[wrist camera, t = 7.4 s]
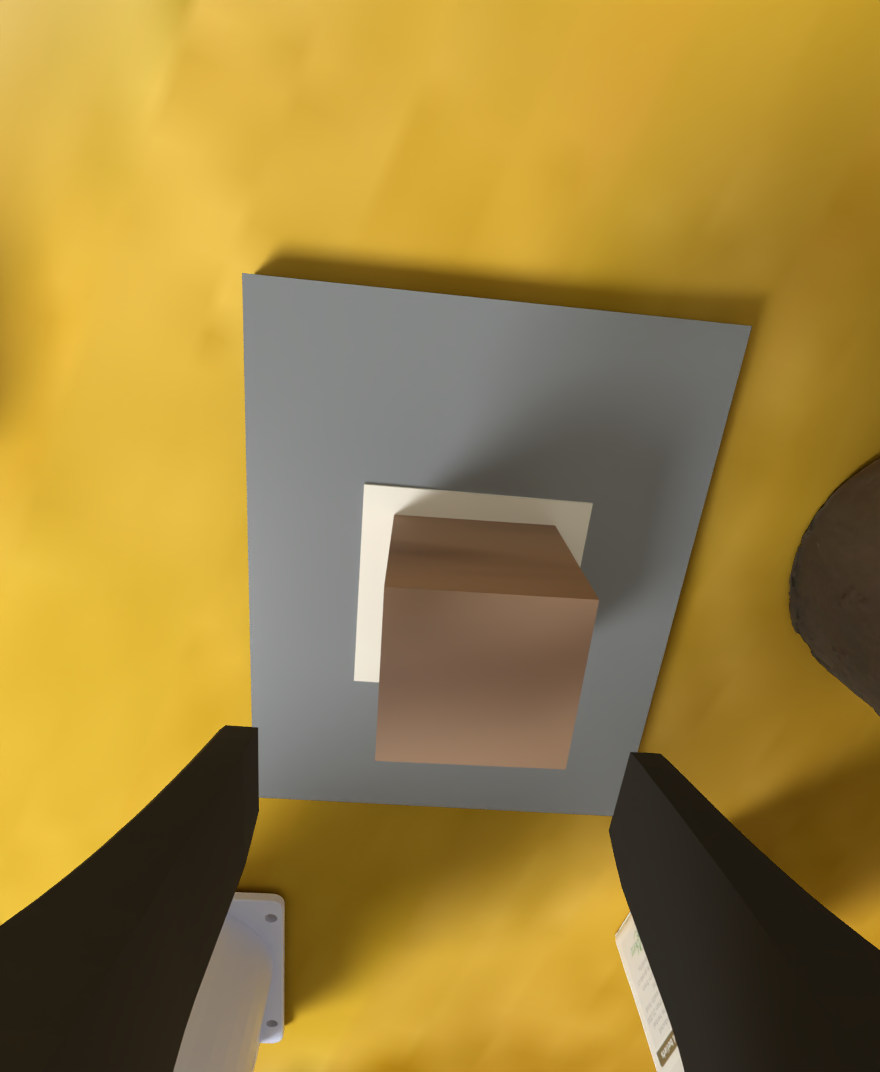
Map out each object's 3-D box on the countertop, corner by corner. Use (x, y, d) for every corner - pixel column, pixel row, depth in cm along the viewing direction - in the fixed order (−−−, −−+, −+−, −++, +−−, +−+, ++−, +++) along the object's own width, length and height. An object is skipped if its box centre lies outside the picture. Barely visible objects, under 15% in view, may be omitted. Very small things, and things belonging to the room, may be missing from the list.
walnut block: (533, 662, 20) (565, 769, 16) (386, 654, 20) (375, 760, 15) (554, 525, 19) (599, 600, 14) (393, 514, 18) (383, 586, 14)
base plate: (612, 796, 24) (621, 818, 23) (260, 777, 23) (252, 799, 22) (734, 324, 18) (753, 325, 17) (252, 274, 17) (240, 272, 16)
